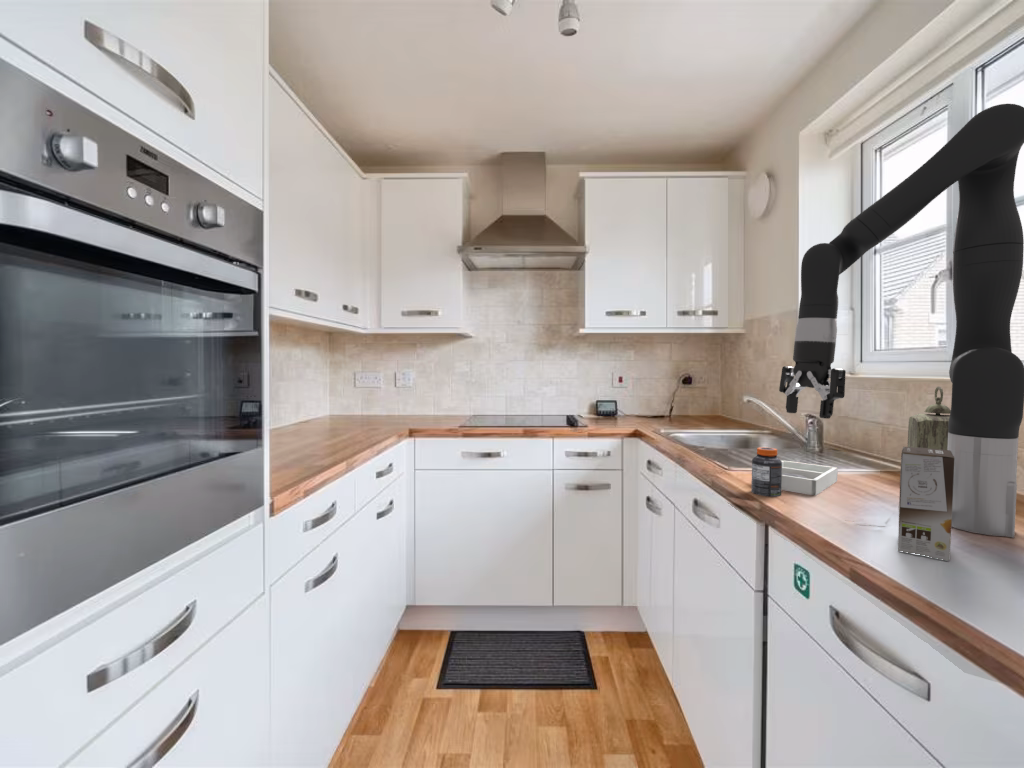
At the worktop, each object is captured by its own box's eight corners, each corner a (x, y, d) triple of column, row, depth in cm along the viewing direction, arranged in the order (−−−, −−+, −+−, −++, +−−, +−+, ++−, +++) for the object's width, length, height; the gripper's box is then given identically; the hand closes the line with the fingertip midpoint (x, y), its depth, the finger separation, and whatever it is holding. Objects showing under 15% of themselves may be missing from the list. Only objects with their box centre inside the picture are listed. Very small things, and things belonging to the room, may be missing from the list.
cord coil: (808, 486, 114) (809, 475, 114) (801, 490, 110) (802, 480, 110) (781, 481, 118) (781, 471, 118) (773, 485, 114) (773, 475, 114)
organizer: (837, 485, 120) (837, 467, 120) (815, 500, 106) (816, 480, 106) (781, 476, 129) (782, 460, 129) (754, 490, 115) (755, 471, 115)
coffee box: (951, 563, 72) (956, 457, 72) (897, 552, 76) (901, 452, 76) (947, 545, 80) (951, 449, 79) (897, 536, 84) (901, 445, 83)
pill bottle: (774, 495, 110) (775, 446, 110) (786, 502, 104) (787, 450, 104) (746, 494, 111) (748, 445, 111) (757, 501, 105) (759, 450, 105)
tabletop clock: (964, 492, 115) (969, 388, 114) (915, 487, 119) (919, 386, 118) (949, 480, 127) (953, 386, 126) (905, 476, 132) (909, 385, 131)
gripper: (860, 341, 97) (851, 420, 98) (801, 342, 111) (794, 411, 112) (830, 338, 95) (822, 419, 96) (774, 339, 109) (767, 410, 110)
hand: (807, 415), depth 104 cm, fingers open, 8 cm apart
